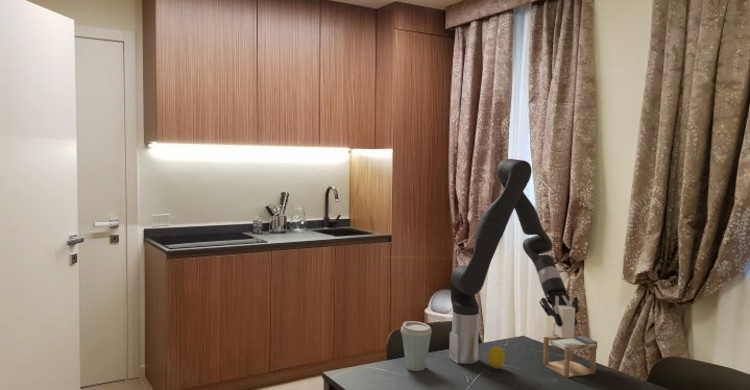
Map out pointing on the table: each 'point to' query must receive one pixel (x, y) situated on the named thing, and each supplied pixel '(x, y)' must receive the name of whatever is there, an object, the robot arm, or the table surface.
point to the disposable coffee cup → (416, 344)
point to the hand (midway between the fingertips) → (567, 325)
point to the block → (566, 321)
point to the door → (573, 342)
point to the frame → (569, 360)
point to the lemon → (496, 357)
